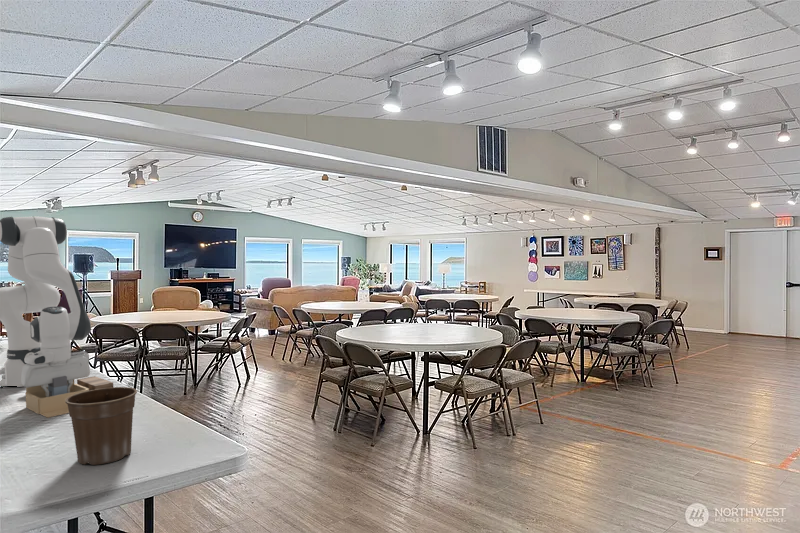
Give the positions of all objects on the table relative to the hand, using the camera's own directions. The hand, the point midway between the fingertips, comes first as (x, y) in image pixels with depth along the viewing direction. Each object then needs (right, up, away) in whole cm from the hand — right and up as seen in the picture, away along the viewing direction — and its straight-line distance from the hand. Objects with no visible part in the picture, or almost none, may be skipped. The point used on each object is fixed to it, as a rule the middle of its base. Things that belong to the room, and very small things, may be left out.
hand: (57, 394), depth 191 cm
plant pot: (+41, -5, -47) cm, 63 cm away
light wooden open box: (+2, -4, -2) cm, 5 cm away
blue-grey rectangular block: (0, -4, 0) cm, 4 cm away
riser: (+8, -3, +9) cm, 13 cm away
